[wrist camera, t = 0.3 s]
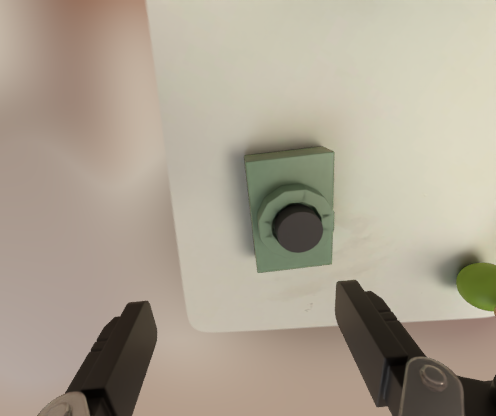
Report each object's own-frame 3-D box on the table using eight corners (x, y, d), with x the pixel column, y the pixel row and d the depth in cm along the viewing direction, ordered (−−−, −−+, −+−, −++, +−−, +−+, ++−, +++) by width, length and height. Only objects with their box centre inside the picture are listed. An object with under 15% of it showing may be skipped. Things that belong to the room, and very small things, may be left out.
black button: (317, 240, 25) (323, 250, 23) (275, 245, 25) (278, 255, 23) (317, 201, 23) (323, 209, 21) (272, 206, 23) (275, 214, 21)
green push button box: (322, 248, 30) (338, 274, 26) (255, 256, 30) (259, 284, 26) (323, 146, 26) (342, 155, 21) (243, 155, 26) (246, 166, 21)
